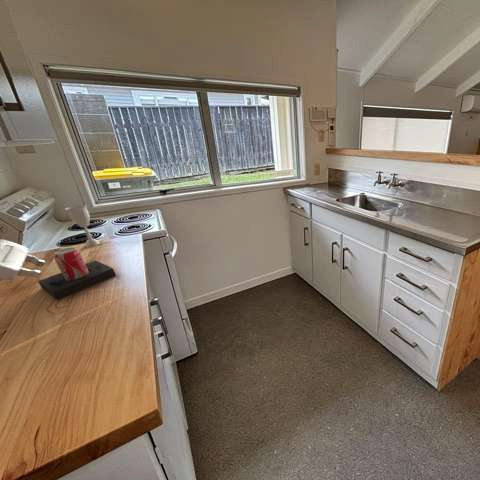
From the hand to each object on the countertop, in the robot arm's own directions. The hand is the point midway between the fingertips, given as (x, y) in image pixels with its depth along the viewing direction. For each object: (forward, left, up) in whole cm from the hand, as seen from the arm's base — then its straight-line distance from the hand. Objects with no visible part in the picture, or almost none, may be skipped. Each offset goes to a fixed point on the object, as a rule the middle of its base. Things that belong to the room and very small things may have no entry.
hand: (42, 269), depth 82 cm
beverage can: (+6, -3, -8) cm, 11 cm away
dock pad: (+6, -3, -8) cm, 10 cm away
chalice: (+23, +34, -8) cm, 42 cm away
